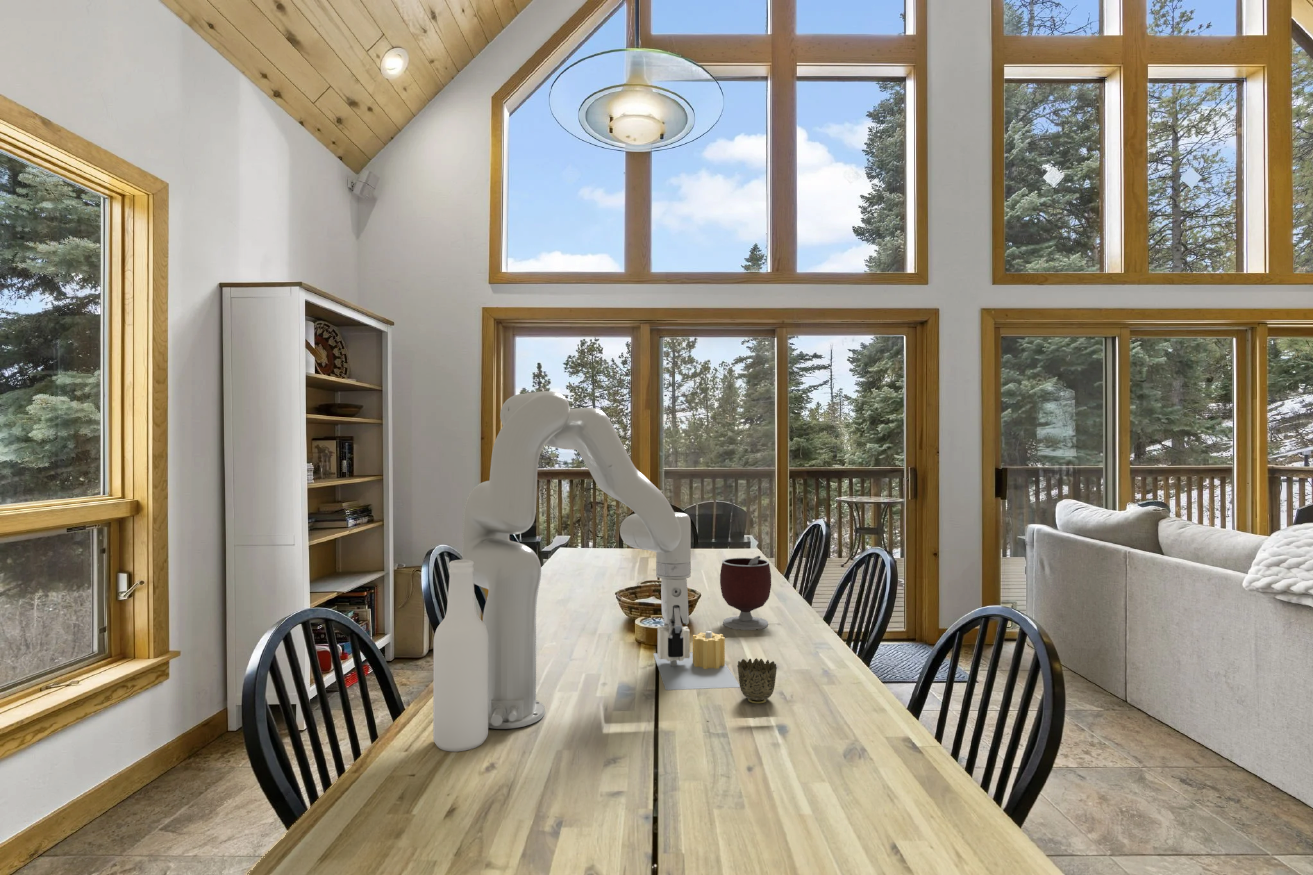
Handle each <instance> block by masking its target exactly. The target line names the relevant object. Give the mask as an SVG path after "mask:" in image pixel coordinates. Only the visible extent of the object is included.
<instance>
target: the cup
mask: <svg viewBox="0 0 1313 875" xmlns="http://www.w3.org/2000/svg"><path fill="white" fill-rule="evenodd" d="M736 666H737V673H738V674H737V675H738V676H737V677H738V683H739V685H740V687H739V688H740V690H741V693H742V694H743V696H744V697H745V698H747V701H748V702H750V703H752V704H763V703H766V702H767V699H769V698H770V697H771V696H772V695H773V693H774V690H775V686H776V679H777V668H778V667H777V663H775V661H774V660H772V661H771V662H770V661H769V659H767V660H766V661H764V660H763V659H762V658H760V659H758V658H757V657H756V658H754V660H753V661H752V659H751V658H749V659H748V660H746V659H744V658H742V659H741V661H740V660H738V661H737V665H736Z"/></svg>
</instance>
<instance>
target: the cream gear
mask: <svg viewBox="0 0 1313 875" xmlns="http://www.w3.org/2000/svg"><path fill="white" fill-rule="evenodd" d="M673 628H674V627H672V629H673ZM682 632H683V656H682V657H669V656H668V638H669V625H663V626H662V627H661V626H659V627H657V652H656V653H657V656H658V658H659V659H666V660H667V661H672V660H679V661H684V658H689V657H690V652H691V651H690V643H691V642H690V640H691V638H690V635H691V634H690V632H691V631H690V629H689V627H688V626H682Z"/></svg>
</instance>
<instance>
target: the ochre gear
mask: <svg viewBox="0 0 1313 875" xmlns="http://www.w3.org/2000/svg"><path fill="white" fill-rule="evenodd" d="M711 632H712V638H706V632H698V634H693V635H692V652H693V663H694V666H695V667H703V669H708V668H715V669H718V668H719V666H724V665H725V664H726V637H724V634H722V633H719V634H718V633H715V632H713V631H711Z"/></svg>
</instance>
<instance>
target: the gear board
mask: <svg viewBox="0 0 1313 875" xmlns="http://www.w3.org/2000/svg"><path fill="white" fill-rule="evenodd" d="M712 632H713V631H711V630H710V631H709V630H706V631H705V633H706V638H712ZM653 657H654V659H655V663H656V666H657V668H658V671H659V674H660V677H661V680H662V683H663V686H664V688H665V691H678V690H679V691H680V690H682V691H683V690H702V689H703V690H706V689H729V688H731V689H732V688H734V689H735V688H740V684H739V681H738V680H737V678H736V677H735V676H734V674H733V673H732V671H731V670H730V669H729V667H728V664H726V663H725V665H724V666H719V668H718V669H715V668H708V669H703V667H695V666H694V663H693V651H690V657H689V658H684V661H679V660H672V661H667V660H666V659H659V658H658V656H657V652H655V653H653Z"/></svg>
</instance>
